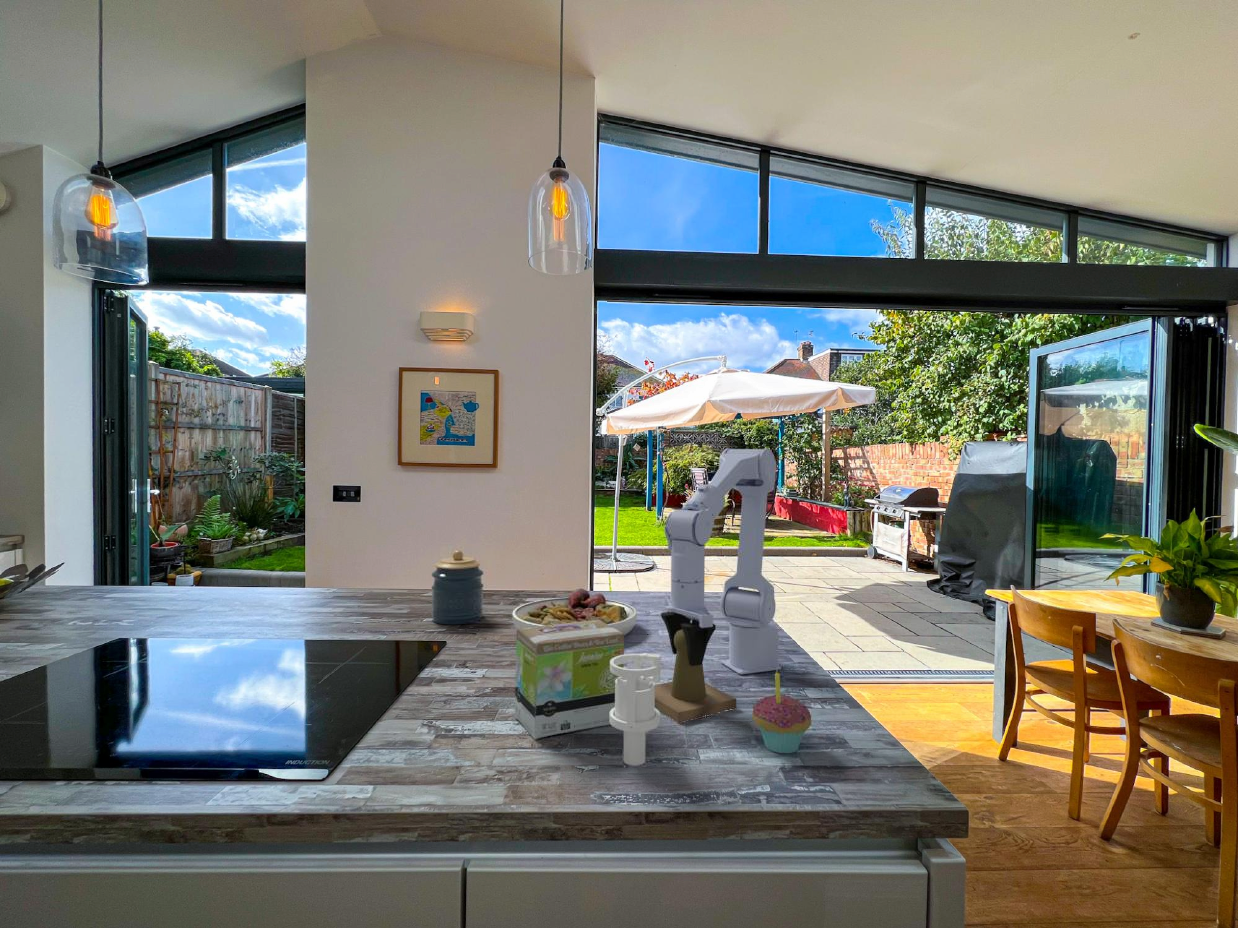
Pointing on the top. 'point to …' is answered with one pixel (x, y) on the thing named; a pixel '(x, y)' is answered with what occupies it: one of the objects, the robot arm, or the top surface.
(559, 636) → the tea box
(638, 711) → the white stepped hollow cylinder
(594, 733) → the top surface
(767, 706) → the cupcake
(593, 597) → the bowl
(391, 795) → the top surface
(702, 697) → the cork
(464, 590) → the canister
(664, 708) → the walnut board
